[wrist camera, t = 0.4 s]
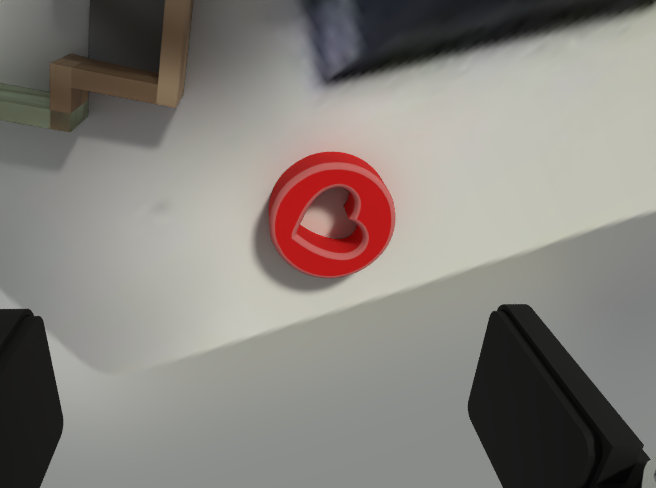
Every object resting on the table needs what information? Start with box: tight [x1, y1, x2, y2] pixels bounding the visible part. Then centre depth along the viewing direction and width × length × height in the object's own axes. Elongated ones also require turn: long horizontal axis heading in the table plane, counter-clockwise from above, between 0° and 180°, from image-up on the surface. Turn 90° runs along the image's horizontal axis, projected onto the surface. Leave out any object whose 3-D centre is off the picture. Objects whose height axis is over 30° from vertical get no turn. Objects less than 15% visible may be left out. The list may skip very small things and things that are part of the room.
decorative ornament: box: [269, 152, 395, 278], centre depth 41 cm, size 10×10×3 cm
